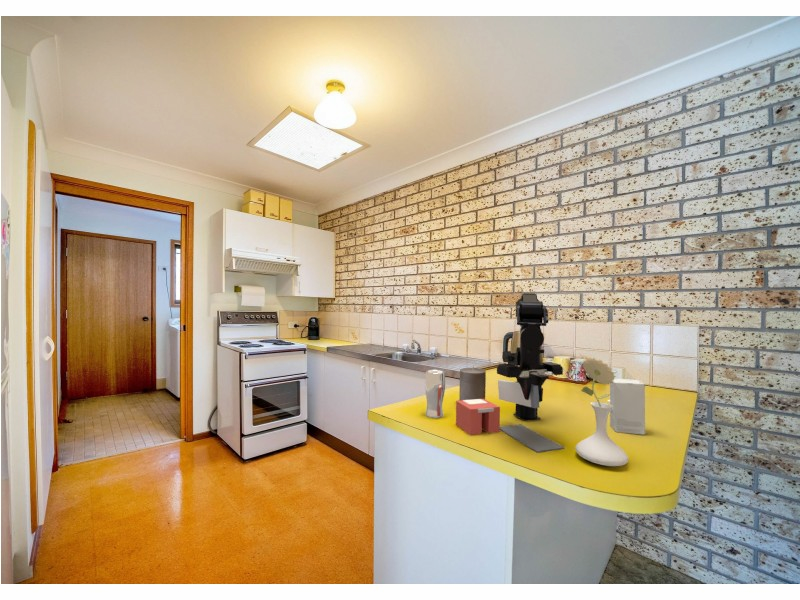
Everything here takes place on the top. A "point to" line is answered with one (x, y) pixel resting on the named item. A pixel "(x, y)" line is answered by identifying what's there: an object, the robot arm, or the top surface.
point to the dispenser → (477, 416)
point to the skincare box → (627, 406)
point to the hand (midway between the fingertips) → (529, 399)
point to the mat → (530, 438)
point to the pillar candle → (472, 384)
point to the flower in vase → (600, 421)
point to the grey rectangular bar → (517, 394)
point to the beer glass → (434, 392)
